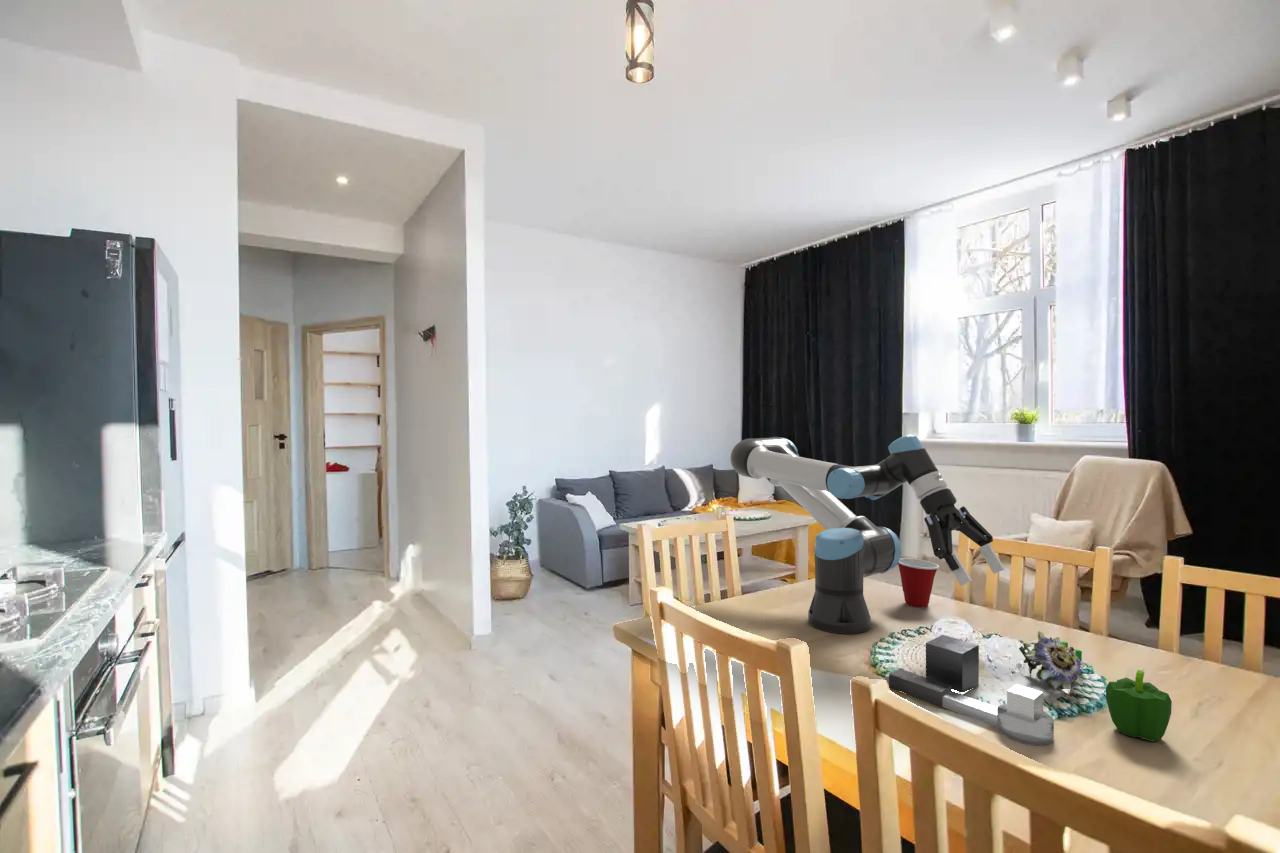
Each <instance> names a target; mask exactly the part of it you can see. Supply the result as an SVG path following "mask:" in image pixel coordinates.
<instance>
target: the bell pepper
mask: <svg viewBox="0 0 1280 853" xmlns="http://www.w3.org/2000/svg"><path fill="white" fill-rule="evenodd" d="M1144 676H1145V671H1143V670H1140V669H1138V670H1136V673H1135V677H1134V678H1135V680H1133V679H1130V678H1129V677H1122V678H1120V679H1117V680H1116V681H1109V682H1108V684H1107V685H1106V687H1105V700H1106V704H1107V708H1108V711H1109V714H1110V718H1111V721H1112V723H1113V725H1114V726H1115V728H1116V729H1117V731H1118V732H1120V733H1122V734H1124V735H1126V736H1129V737H1133V738H1137V737H1138V738H1141V739H1143V740H1147V741H1149V742H1158V741H1160V740H1161V739H1162V738H1163V737H1164V736H1165V733H1166V731H1167V730H1168V729H1167V728H1168V725H1169V723H1170V719H1171V716H1172V707H1173V706H1172V699H1171V697H1170V695H1169V693H1167V692H1165V691H1162V690H1161V689H1159V688H1158V687H1156V686H1155V685H1154V684H1152V683H1151V682H1147V681H1146V682H1144Z"/></svg>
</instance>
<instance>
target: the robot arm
mask: <svg viewBox="0 0 1280 853" xmlns="http://www.w3.org/2000/svg"><path fill="white" fill-rule="evenodd" d="M926 449H927V448H926V447H925V446H924V445H923V443H922V442H921V440H920V438H918V437H917V435H914V434H906V435H903V436H900V437H898V438H897V439H895V440H894V441H892V442H891V443H890V444H889V445H888V451H889V454H890V455H889V456H888V457H886V458H885V459H883V460H882V461H880V462H878V463H877V464H870V465H862V466H861V465H860V466H851V465H850V466H849V465H844V464H839V463H836V462H835V463H834V462H828V461H825V460H824V461H822V460H817V459H813V458H807V457H803V456H800V455H799V453H798V448H797V447H796V445H795V444H794V442H792V441H791V440H789V439H788V438H785V437H778V436H771V437H759V438H744V439H742V440H740V441H738V442H737V443H736V444H735V445H734V447H733V448H732V449H731V453H730V463H731V467H732V469H733V470H734V471H735V472H736V473H737V474H738V475H740V476H742V477H745V478H746V477H747V478H752V479H755V480H759V479H762V478H765V479H766V480H767V481H768V482H769V483H771V485H773V486H774V487H781V488H783V490H784V491H785V492H787V494H789V495H790V496H791V498H793V500H795V501H796V502H797V503H798V504H799V505H800V506H801V507H802V508H803V509H804V510H805V511H806V512H807V513H808V514H809V515H810V516H811V517H812V518H813V520H816V522H818V523H819V525H820V526H822V528H823V529H824V530H821V531H820V532H819V533H818V534H817V535H816V536H815V540H814V542H815V545H814V549H813V550H814V594H813V598H812V600H811V603H810V606H809V609H808V611H807V620H808V621H807V622H808V624H809V625H810V626H812V627H814V628H816V629H818V630H820V631H821V630H822V631H824V632H830V633H836V634H844V635H845V634H847V635H852V634H861V633H864V632H866V631H869V630H870V629H871V627H872V618H871V614H870V612H869V608H868V606H867V602H866V599H865V596H864V578H866V577H867V578H868V577H871V576H874V575H878V574H884V573H887V572H888V571H890V570H892V569H894V568H895V567H897V565H898V562H899V560H900V558H901V557H902V548H901V543H900V542H901V541H900V539H899V536H898V535H897V534H896V533H895V532H893V531H892V529H890V528H887V527H885V526H876V525H875V524H874V523H873V522H872V521H871V520H869V518H867V517H866V516H864V515H859V516H857V515H856V514H854V512H853V511H852V510H850V509H849V507H847V506H846V505H845V504H844V503H843V502H842V501H841V500H843V499H846V500H852V499H854V498H855V499H856V498H861V497H864V498H867V499H870V500H872V501H873V500H874V501H876V500H878V499H880V498H881V497H886V496H887V494H889V493H890V492H892V491H894V490H895V489H897V488H898V487H899V486H902V485H903V484H905V483H907V484H908V485H909V487H910V488H911V491H912V492H913V494H914V496H915V497H916V499H917V500H920V501H919V504H920V505H921V508H922V509H923V511H924V513H925V514H926V515H927V516H926V517H924V518H923V520H924V522H925V525H926V526H927V531H928V534H929V539H930V541H931V547H932V552H933V555H934V556H935V557H936V558H938V559H939V560H941V561H942V560H944V561H945V563H946V564H947V566H948V568H949V569H950V571H951V572H952V574H953V575H954V577H955V579H956V581H957V582H958V584H959V586H963V585H965V584H969V583H970V582H973V580H972V578H971V576H970V575H969V572H968V571H967V569H966V568H965V566H964V564H963V563H962V561H961V559H960V558H959V556H958V554H957V553H956V552H955V553H953V551H954V550H953V532H952V531H957V532H960V533H961V534H963V535H964V536H966V537H967V538H968V539H969V540H970V541H973V542H974V543H975V544H976V545H978V546H979V547H978V550H979V552H980V553H981V555H982V557H983V559H984V561H985V562H986V564H987V565H988V567H989V568H990V570H991V572H992V573H993V574H994V575H995V574H998V573H1000V572H1002V571H1005V570H1006V568H1005V566H1004V565H1003V563H1002V562H1001V560H1000V558H999V556H998V555H997V553H996V551H995V550H994V549H993V547H992V545H991V544H992V542H993V541H994V540H993V539H994V537H993V535H992V534H991V533H990V532H989V531H988V530H987V529H985V527H984V526H983V525H982V524H981V523H980V522H978V520H976V518H975V517H974V516H973V515H971V513H970V512H969V511H968V509H967V508H966V507H965V506H964V505H963V506H961V507H959V508H957V507H956V506H955V504H956V503H957V502H958V501H957V498H956V496H955V495H954V494H953V492H952V490H951V489H950V488H947V487H948V484H947V482H946V481H945V479H944V478H943V475H942V474H941V473H940V471H939V470H938V468H937V466H936V465H935V462H934V461H933V460H932V458H931V457H930V454H929V453H928V452H927V450H926ZM839 499H841V500H839Z"/></svg>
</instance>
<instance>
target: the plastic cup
mask: <svg viewBox="0 0 1280 853" xmlns="http://www.w3.org/2000/svg"><path fill="white" fill-rule="evenodd" d="M897 565H898V570H899V574H900V581H901V586H902V587H901V588H902V592H903V596H904V601H905V604H906V605H907V606H909V607H912V608H926V607H928V606H929V604H930V599H931V595H932V591H933V590H932V589H933V585H934V580H935V576H936V573H937V570H938V569H939V568H940V565H939V564H938V563H934V562H932V561H928V560H924V559H919V558H911V557H910V558H909V557H906V558H905V557H902V558H901V557H900V560H899V562H898V564H897Z"/></svg>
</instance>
